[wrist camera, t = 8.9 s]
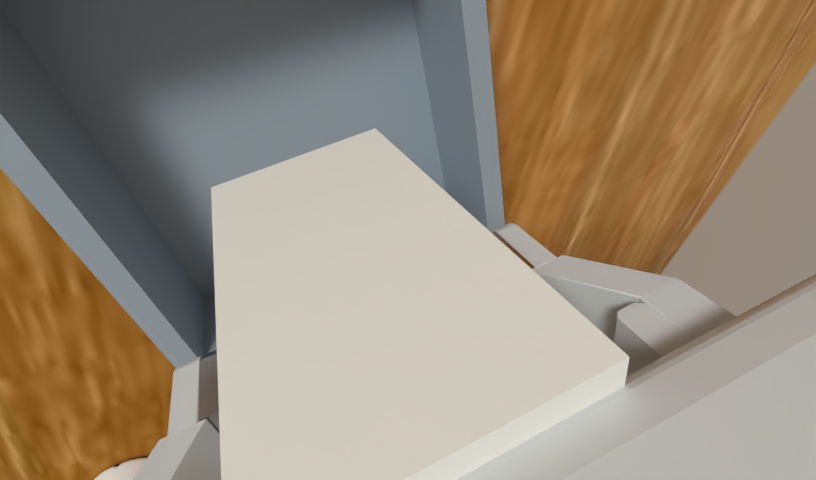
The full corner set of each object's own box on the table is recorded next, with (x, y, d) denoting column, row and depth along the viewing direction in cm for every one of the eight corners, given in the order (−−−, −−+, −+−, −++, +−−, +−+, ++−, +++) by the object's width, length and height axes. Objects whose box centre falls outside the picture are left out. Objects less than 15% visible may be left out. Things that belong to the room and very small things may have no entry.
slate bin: (401, -141, 18) (470, -181, 13) (456, 201, 28) (507, 249, 23) (-53, -35, 15) (-179, -37, 10) (195, 306, 25) (192, 387, 20)
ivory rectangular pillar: (374, 128, 12) (630, 356, 5) (408, 254, 15) (602, 518, 7) (211, 187, 11) (224, 576, 4) (279, 310, 14) (360, 670, 7)
